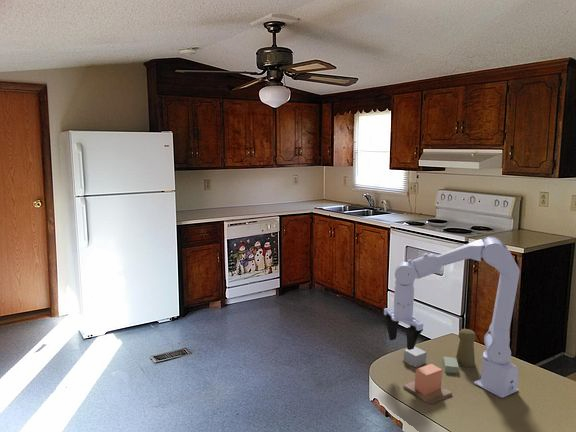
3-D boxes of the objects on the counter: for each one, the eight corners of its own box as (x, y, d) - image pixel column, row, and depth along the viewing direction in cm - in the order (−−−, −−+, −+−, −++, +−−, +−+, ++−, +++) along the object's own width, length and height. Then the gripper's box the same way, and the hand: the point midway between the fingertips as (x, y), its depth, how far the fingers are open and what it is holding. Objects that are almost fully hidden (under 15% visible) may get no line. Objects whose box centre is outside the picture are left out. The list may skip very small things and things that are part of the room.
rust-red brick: (440, 388, 136) (442, 369, 135) (425, 395, 133) (426, 375, 132) (430, 382, 140) (431, 363, 138) (414, 388, 136) (415, 369, 135)
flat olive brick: (458, 374, 147) (458, 367, 146) (444, 372, 148) (445, 365, 147) (455, 364, 153) (456, 357, 152) (442, 363, 154) (443, 356, 153)
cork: (471, 368, 150) (474, 336, 148) (452, 363, 153) (454, 331, 151) (477, 361, 154) (479, 329, 152) (458, 356, 158) (460, 325, 156)
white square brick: (425, 363, 153) (426, 352, 152) (415, 367, 150) (416, 356, 150) (414, 357, 157) (414, 346, 156) (403, 361, 154) (404, 350, 154)
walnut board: (452, 395, 134) (452, 392, 134) (429, 404, 130) (430, 401, 130) (425, 379, 143) (425, 377, 143) (403, 387, 138) (403, 385, 138)
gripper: (377, 297, 147) (375, 338, 149) (411, 312, 135) (409, 356, 137) (394, 293, 151) (392, 333, 153) (429, 307, 138) (426, 351, 141)
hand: (401, 344), depth 145 cm, fingers open, 7 cm apart
